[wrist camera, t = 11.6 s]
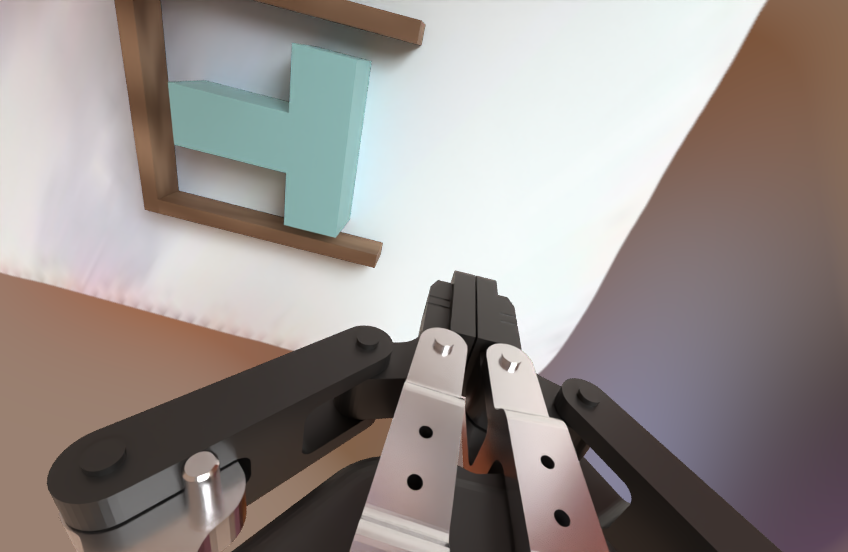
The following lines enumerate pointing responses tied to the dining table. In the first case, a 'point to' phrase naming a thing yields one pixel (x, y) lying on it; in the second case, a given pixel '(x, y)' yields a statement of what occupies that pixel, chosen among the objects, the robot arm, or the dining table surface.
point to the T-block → (287, 131)
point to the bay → (155, 130)
